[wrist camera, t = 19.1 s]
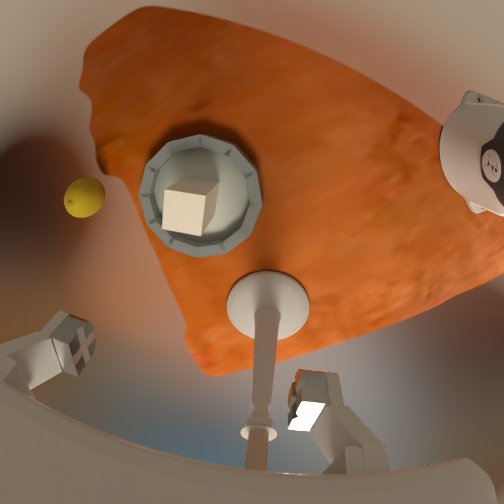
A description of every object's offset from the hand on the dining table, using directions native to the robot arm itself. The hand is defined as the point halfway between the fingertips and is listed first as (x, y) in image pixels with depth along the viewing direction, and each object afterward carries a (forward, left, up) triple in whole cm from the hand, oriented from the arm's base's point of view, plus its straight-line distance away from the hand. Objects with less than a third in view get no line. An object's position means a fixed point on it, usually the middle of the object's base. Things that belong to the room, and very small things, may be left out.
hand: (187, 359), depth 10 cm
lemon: (+23, -4, -31) cm, 39 cm away
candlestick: (+1, +19, -31) cm, 37 cm away
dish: (+7, 0, -31) cm, 32 cm away
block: (+7, 0, -30) cm, 31 cm away
